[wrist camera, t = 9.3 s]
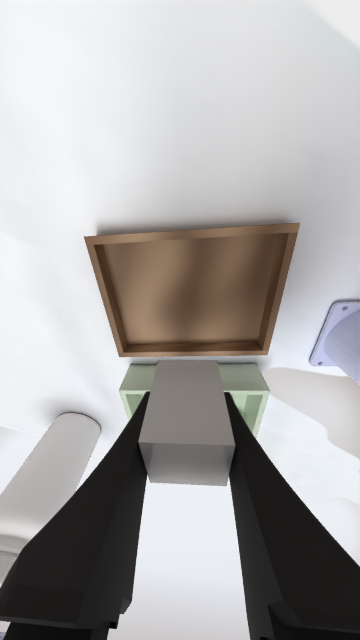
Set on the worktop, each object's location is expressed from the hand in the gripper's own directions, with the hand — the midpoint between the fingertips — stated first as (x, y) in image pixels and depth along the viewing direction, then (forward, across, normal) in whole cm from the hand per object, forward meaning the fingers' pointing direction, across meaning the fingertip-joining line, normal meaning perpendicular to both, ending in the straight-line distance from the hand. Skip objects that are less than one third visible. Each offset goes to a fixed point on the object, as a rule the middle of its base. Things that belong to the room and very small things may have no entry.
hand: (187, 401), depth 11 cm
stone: (+2, 0, 0) cm, 2 cm away
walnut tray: (+9, 0, -4) cm, 10 cm away
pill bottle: (+9, +20, +19) cm, 29 cm away
